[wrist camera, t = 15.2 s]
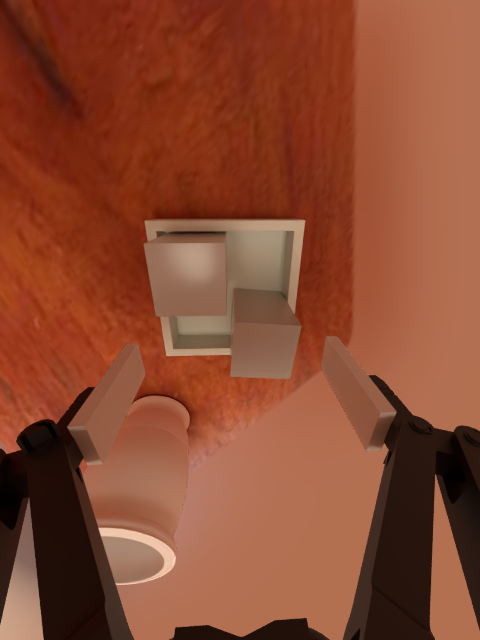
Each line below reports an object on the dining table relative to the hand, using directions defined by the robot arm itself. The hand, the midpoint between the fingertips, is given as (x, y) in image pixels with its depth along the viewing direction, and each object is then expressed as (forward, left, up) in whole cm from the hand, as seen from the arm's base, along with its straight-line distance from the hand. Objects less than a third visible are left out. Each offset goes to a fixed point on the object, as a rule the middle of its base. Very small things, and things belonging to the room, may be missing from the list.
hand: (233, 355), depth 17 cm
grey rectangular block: (+1, +2, -9) cm, 10 cm away
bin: (-2, 0, -10) cm, 10 cm away
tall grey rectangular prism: (-5, -3, -9) cm, 11 cm away
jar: (+17, -10, -10) cm, 23 cm away
